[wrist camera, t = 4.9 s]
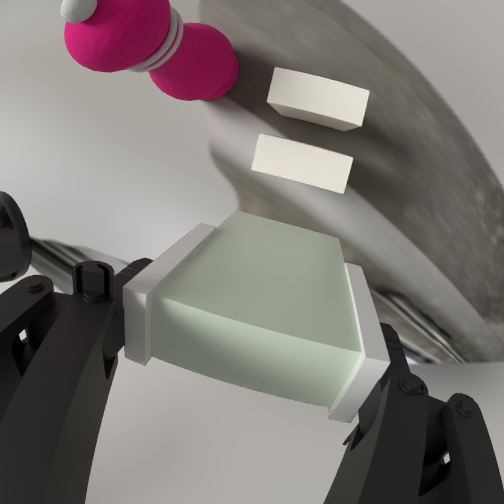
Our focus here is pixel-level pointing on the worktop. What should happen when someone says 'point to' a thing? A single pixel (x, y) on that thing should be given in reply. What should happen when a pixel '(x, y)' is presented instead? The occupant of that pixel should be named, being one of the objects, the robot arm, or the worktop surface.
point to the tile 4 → (302, 162)
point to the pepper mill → (150, 45)
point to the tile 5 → (317, 99)
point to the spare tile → (261, 311)
